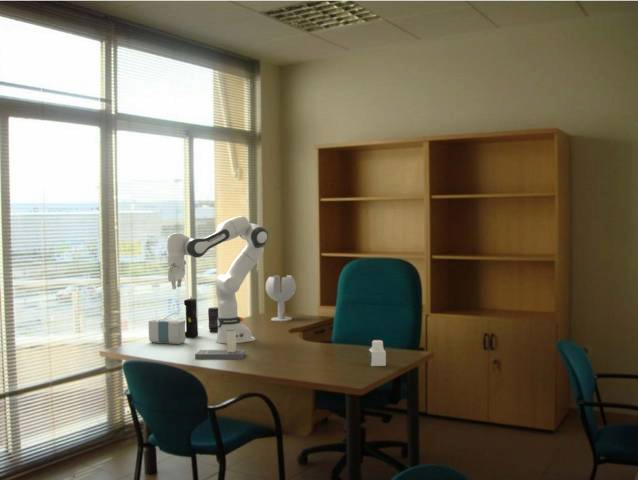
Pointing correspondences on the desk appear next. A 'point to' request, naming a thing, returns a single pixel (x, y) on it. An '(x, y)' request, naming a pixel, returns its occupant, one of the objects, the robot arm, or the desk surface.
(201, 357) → the mixing console
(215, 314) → the camera lens
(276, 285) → the stemmed glass
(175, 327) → the stereo radio cassette player
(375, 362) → the medicine bottle
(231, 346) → the fader knob
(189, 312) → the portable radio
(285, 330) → the desk surface
